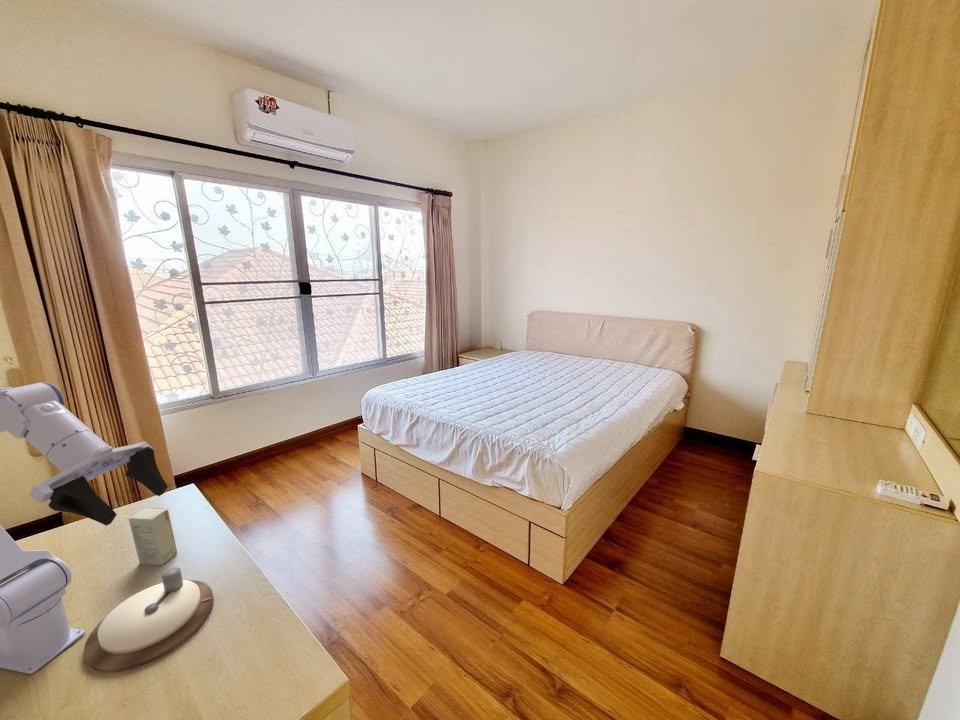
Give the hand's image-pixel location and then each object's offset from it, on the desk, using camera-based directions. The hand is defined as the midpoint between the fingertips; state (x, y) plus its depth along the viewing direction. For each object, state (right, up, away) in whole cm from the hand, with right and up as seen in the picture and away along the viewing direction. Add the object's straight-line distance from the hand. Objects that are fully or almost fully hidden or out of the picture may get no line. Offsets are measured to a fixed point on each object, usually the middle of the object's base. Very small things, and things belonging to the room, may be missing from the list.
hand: (139, 504), depth 58 cm
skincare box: (-26, -26, +34) cm, 50 cm away
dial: (-12, -28, +16) cm, 34 cm away
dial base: (-12, -29, +17) cm, 36 cm away
